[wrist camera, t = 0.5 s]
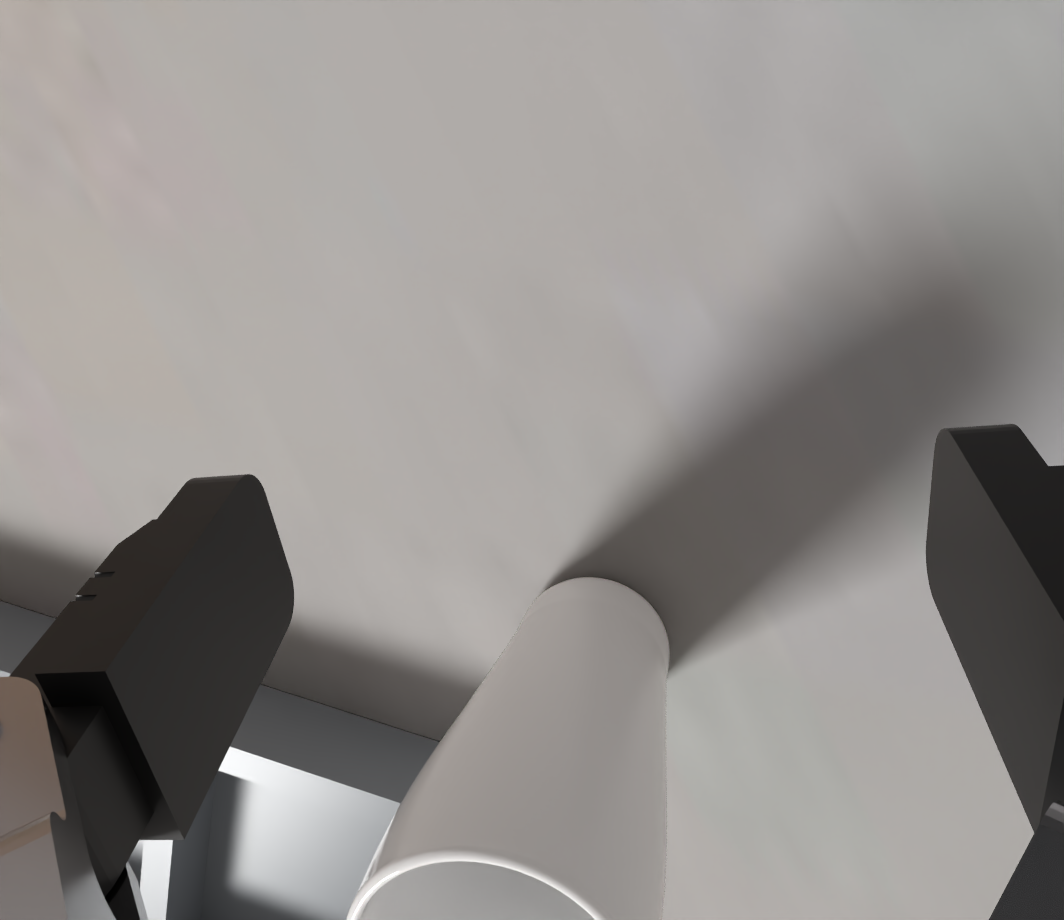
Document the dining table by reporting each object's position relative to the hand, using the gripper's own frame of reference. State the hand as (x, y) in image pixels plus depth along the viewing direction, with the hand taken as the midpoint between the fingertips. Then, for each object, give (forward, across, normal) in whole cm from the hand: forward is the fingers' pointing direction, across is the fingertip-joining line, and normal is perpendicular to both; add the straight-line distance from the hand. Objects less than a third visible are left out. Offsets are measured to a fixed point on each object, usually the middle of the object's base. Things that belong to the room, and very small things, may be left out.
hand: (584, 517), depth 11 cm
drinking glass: (+17, +2, +16) cm, 23 cm away
